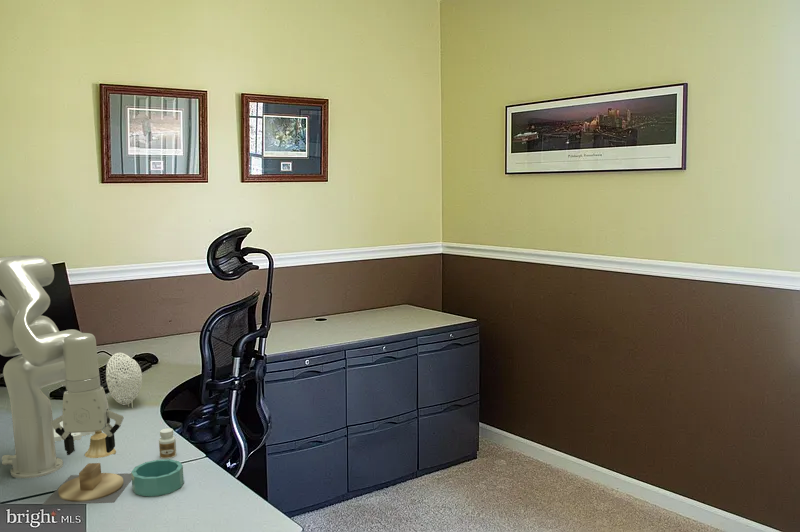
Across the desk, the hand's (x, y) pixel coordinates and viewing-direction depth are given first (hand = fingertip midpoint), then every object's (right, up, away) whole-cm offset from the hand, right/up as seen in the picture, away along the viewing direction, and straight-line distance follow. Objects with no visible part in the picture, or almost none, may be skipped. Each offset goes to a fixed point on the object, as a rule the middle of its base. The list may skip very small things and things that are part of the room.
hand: (90, 451), depth 185 cm
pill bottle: (+12, -7, +22) cm, 26 cm away
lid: (0, -10, +2) cm, 10 cm away
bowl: (+16, -10, +2) cm, 19 cm away
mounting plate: (-24, -5, +44) cm, 50 cm away
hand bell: (-8, -7, +26) cm, 28 cm away
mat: (0, -10, +2) cm, 10 cm away
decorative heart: (-16, -1, +69) cm, 71 cm away
